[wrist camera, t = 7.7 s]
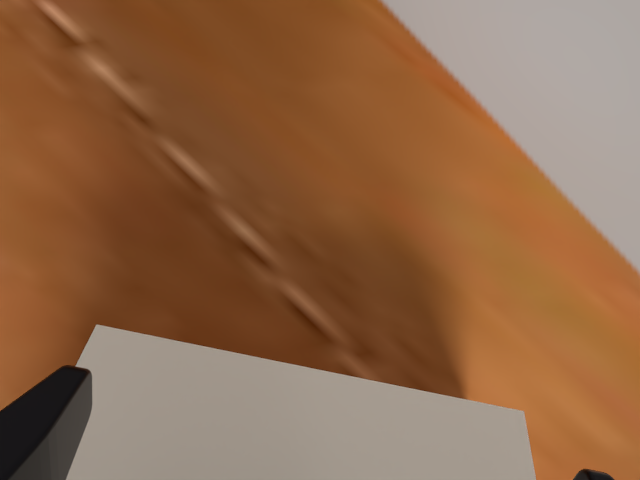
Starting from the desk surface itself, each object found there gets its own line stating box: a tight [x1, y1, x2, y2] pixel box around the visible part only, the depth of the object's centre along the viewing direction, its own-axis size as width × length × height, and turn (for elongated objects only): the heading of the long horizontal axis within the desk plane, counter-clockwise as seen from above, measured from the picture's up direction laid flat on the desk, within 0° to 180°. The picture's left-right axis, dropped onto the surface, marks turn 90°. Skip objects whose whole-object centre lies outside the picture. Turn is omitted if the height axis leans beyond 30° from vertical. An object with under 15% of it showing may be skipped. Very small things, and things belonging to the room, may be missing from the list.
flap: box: [66, 325, 536, 480], centre depth 11 cm, size 9×12×7 cm
